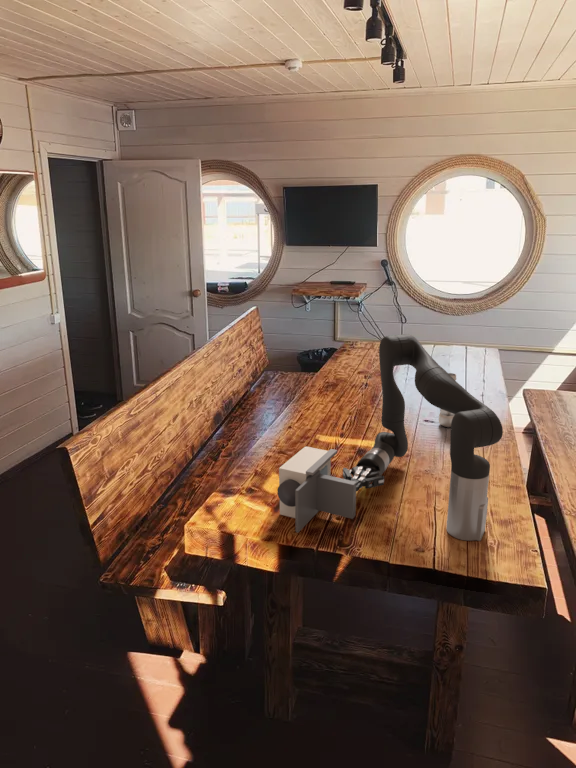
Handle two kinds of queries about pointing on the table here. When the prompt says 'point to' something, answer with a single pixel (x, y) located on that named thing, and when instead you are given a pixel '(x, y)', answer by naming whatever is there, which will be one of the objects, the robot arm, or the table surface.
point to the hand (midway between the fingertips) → (351, 489)
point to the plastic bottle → (446, 412)
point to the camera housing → (301, 474)
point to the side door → (324, 498)
